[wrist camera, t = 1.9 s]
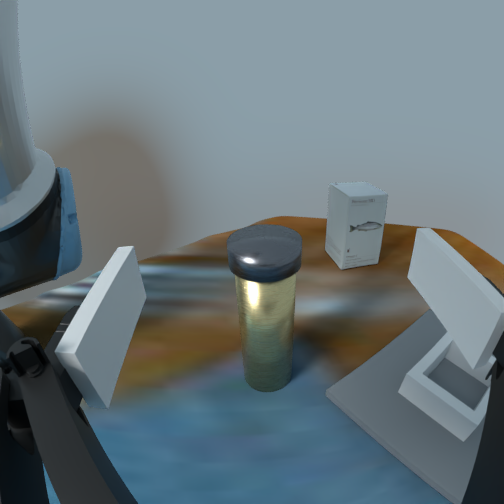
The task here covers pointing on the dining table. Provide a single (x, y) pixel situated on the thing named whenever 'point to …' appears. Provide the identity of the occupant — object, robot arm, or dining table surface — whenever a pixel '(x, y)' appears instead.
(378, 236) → the supplement box
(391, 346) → the socket plate
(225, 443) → the dining table surface
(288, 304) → the lidded glass jar
